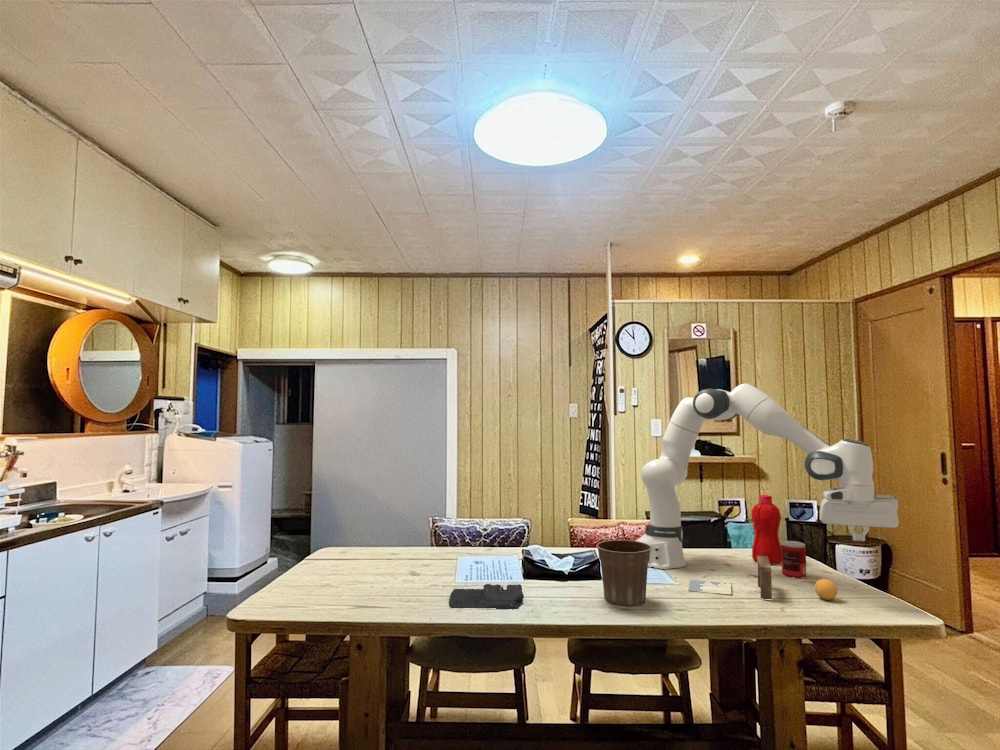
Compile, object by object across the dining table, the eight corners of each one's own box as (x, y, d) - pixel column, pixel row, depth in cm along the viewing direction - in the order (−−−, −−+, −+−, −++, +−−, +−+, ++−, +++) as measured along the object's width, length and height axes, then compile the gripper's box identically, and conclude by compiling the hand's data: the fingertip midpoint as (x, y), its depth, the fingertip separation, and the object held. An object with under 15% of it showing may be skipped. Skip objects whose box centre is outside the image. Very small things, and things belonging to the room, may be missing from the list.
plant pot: (611, 611, 165) (611, 553, 166) (588, 594, 181) (587, 541, 182) (662, 606, 170) (661, 550, 171) (635, 590, 185) (634, 538, 186)
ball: (816, 601, 175) (816, 580, 175) (813, 595, 181) (813, 575, 181) (839, 603, 173) (838, 582, 173) (835, 597, 178) (835, 577, 179)
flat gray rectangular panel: (688, 590, 184) (688, 590, 184) (690, 580, 197) (690, 579, 197) (732, 595, 180) (732, 595, 180) (731, 584, 192) (731, 583, 192)
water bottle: (745, 561, 223) (743, 494, 224) (765, 558, 227) (764, 493, 229) (765, 566, 214) (763, 497, 216) (786, 563, 219) (784, 496, 221)
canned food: (800, 572, 207) (800, 541, 207) (810, 579, 199) (809, 546, 199) (778, 572, 207) (777, 540, 208) (787, 578, 199) (786, 545, 200)
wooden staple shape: (761, 599, 176) (760, 566, 177) (758, 586, 190) (757, 555, 191) (772, 600, 175) (771, 567, 176) (768, 587, 189) (767, 556, 190)
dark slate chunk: (451, 594, 182) (451, 579, 182) (522, 595, 181) (522, 579, 182) (447, 611, 166) (447, 594, 167) (524, 611, 166) (524, 594, 166)
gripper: (894, 494, 175) (896, 541, 174) (817, 491, 182) (819, 536, 181) (900, 497, 169) (902, 545, 168) (820, 493, 176) (822, 540, 175)
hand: (858, 540), depth 175 cm, fingers closed
